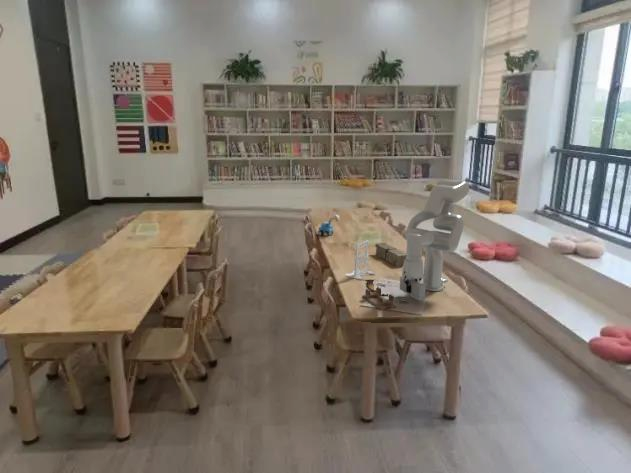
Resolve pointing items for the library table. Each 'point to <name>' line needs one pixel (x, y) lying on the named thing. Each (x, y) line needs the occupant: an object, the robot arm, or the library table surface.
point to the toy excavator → (327, 227)
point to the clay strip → (414, 289)
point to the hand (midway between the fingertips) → (411, 291)
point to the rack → (379, 299)
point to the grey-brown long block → (390, 254)
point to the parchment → (370, 285)
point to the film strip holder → (356, 272)
